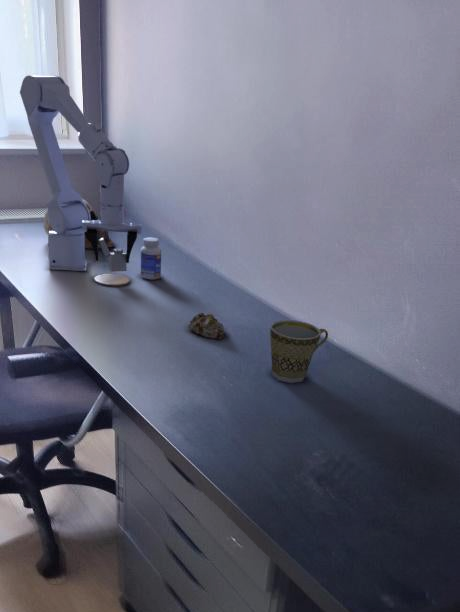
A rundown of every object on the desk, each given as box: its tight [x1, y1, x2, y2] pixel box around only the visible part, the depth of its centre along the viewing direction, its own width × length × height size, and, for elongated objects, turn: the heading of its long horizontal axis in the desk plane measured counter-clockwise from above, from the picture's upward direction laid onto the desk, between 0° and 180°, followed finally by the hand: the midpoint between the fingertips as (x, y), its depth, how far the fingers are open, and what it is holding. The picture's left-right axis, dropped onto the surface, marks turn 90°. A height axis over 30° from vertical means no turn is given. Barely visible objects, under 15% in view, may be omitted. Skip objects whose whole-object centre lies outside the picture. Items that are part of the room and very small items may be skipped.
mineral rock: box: [188, 312, 226, 341], centre depth 160 cm, size 11×4×8 cm
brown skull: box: [43, 199, 115, 250], centre depth 206 cm, size 16×17×13 cm
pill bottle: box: [140, 236, 162, 281], centre depth 187 cm, size 5×5×10 cm
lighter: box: [98, 238, 127, 272], centre depth 181 cm, size 7×2×8 cm, turn 114°
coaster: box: [94, 273, 131, 287], centre depth 184 cm, size 9×9×1 cm
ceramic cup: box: [269, 319, 329, 384], centre depth 143 cm, size 13×10×10 cm
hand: (112, 260), depth 182 cm, fingers closed on lighter, 7 cm apart
